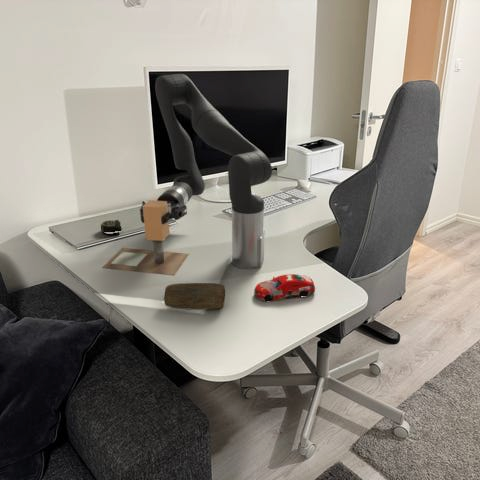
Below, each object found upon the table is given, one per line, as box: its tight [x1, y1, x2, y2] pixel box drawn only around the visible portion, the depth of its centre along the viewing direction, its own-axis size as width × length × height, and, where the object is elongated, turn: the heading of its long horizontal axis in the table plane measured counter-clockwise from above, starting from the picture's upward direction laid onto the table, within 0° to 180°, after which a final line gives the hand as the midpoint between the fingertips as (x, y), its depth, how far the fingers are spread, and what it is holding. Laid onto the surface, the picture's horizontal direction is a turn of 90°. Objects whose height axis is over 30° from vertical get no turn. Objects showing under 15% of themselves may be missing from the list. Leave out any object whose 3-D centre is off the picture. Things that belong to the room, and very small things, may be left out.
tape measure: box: [100, 219, 123, 232], centre depth 159 cm, size 7×7×4 cm
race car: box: [253, 273, 316, 303], centre depth 121 cm, size 16×7×5 cm, turn 101°
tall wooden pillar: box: [142, 199, 170, 242], centre depth 130 cm, size 5×5×10 cm
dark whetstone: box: [163, 282, 226, 310], centre depth 115 cm, size 15×7×7 cm, turn 91°
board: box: [101, 240, 190, 276], centre depth 135 cm, size 22×14×8 cm, turn 78°
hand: (152, 220), depth 127 cm, fingers closed on tall wooden pillar, 5 cm apart
